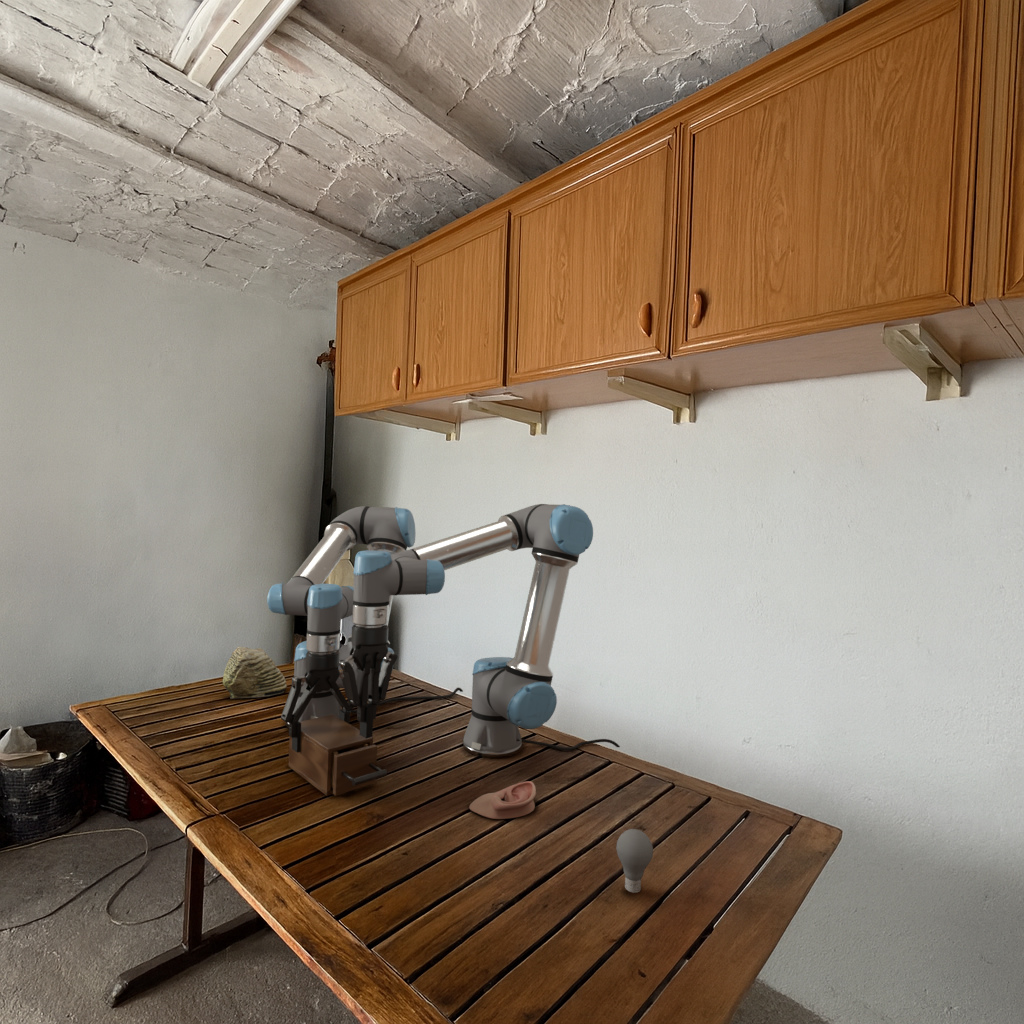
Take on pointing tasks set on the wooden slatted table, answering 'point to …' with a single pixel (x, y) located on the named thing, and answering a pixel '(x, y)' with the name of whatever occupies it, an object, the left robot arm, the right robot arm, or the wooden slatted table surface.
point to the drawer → (354, 768)
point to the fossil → (252, 674)
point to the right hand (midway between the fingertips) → (365, 735)
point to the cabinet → (322, 748)
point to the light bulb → (634, 857)
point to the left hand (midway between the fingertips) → (319, 744)
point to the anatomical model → (506, 802)
